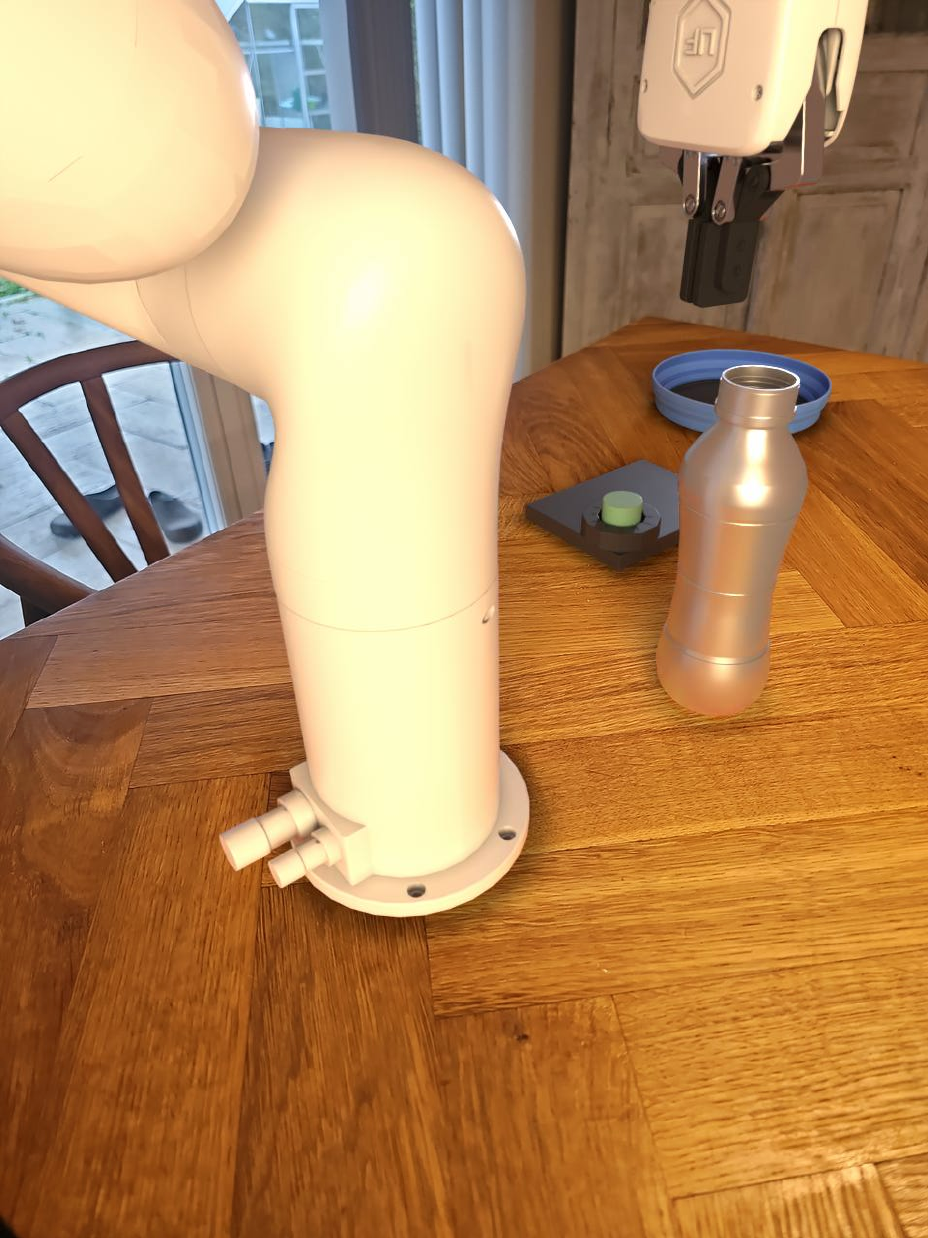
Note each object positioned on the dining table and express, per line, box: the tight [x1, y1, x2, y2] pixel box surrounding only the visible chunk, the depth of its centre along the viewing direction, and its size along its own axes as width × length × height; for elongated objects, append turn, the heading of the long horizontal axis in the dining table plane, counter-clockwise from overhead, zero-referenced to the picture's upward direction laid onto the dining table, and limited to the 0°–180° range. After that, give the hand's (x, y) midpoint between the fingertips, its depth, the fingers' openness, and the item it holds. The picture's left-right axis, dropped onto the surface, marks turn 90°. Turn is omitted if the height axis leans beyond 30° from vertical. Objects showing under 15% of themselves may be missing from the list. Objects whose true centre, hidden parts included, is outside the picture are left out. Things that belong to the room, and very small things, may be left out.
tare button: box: [602, 491, 643, 527], centre depth 65 cm, size 3×3×2 cm
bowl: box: [651, 348, 833, 435], centre depth 89 cm, size 18×18×4 cm
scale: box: [525, 458, 680, 572], centre depth 70 cm, size 14×11×3 cm
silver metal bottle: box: [655, 365, 809, 717], centre depth 47 cm, size 6×7×20 cm
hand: (712, 300), depth 45 cm, fingers closed
